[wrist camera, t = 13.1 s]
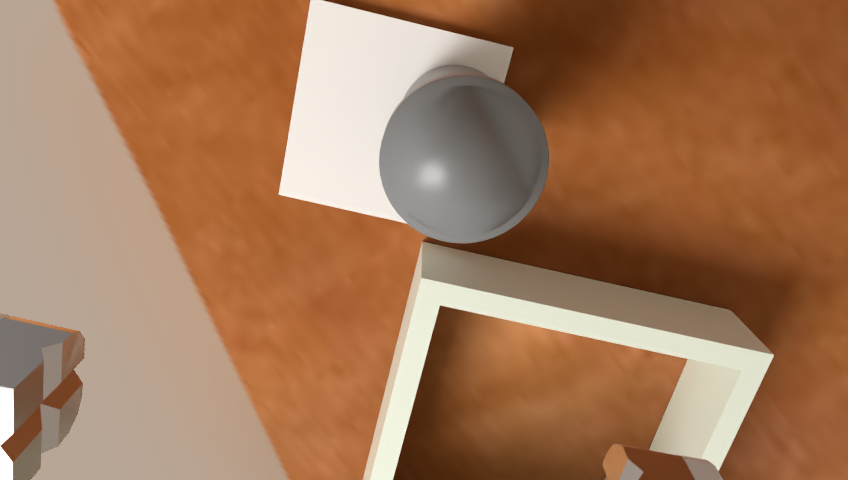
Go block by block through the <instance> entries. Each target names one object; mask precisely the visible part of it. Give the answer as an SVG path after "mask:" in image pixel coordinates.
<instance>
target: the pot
mask: <svg viewBox="0 0 848 480" xmlns="http://www.w3.org/2000/svg"><path fill="white" fill-rule="evenodd" d="M548 167H549V150H548V143H547V139H546V135H545V132H544V129H543V127H542V125H541V122H540V120H539V119H538V117H537V115H536V114H535V112H534V111H533V110H532V108H531V107H530V106H529V105H528V103H527V102H526V101H525V100H524V99H523V98H522V97H521V96H519V95H518V94H517V93H516V92H515V91H514V90H513V89H511V88H510V87H509V86H507V85H506V84H504V83H502V82H500V81H498V80H496V79H494V78H491V77H489V76H487V75H486V74H484V73H483V72H481V71H479V70H477V69H474V68H471V67H468V66H463V65H446V66H441V67H438V68H435V69H432V70H430V71H429V72H427V73H425V74H424V75H422V76H421V77H419V78H418V79H417V80H416V81H415V82H414V83H413V84H412V85H411V87H410V88H409V89H408V91H407V92H406V94H405V96H404V98H403V100H402V101H401V102H400V103H399V104H398V105H397V107H396V108H395V110H394V112H393V113H392V115H391V117H390V119H389V121H388V123H387V126H386V129H385V132H384V135H383V138H382V142H381V147H380V153H379V170H380V177H381V181H382V186H383V188H384V191H385V194H386V196H387V198H388V200H389V202H390V203H391V205H392V207H393V208H394V209H395V211H396V212H397V213H398V214H399V216H400V217H401V218H402V219H403V220H404V221H405V222H406V223H408V224H409V225H410V226H411V227H413V228H414V229H416V230H417V231H419V232H420V233H422V234H424V235H427V236H429V237H431V238H434V239H437V240H440V241H445V242H450V243H474V242H480V241H484V240H488V239H491V238H494V237H496V236H498V235H500V234H503V233H504V232H506V231H508V230H509V229H511V228H513V227H514V226H515V225H516V224H518V223H519V222H520V221H521V220H522V219H523V218H524V217H525V216H526V215H527V214H528V213H529V212H530V210H531V209H532V208H533V207H534V205H535V204H536V202H537V200H538V198H539V197H540V195H541V193H542V190H543V188H544V185H545V182H546V178H547V174H548Z"/></svg>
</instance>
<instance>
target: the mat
mask: <svg viewBox="0 0 848 480" xmlns="http://www.w3.org/2000/svg"><path fill="white" fill-rule="evenodd" d="M512 52H513V47H510V46H506V45H502V44H498V43H494V42H490V41H486V40H482V39H478V38H474V37H470V36H466V35H462V34H458V33H454V32H450V31H445V30H441V29H437V28H433V27H429V26H425V25H421V24H417V23H413V22H409V21H405V20H401V19H397V18H393V17H389V16H385V15H381V14H377V13H373V12H369V11H365V10H361V9H356V8H352V7H348V6H344V5H340V4H336V3H332V2H328V1H324V0H311V1H310V7H309V13H308V20H307V26H306V32H305V38H304V44H303V50H302V56H301V62H300V68H299V74H298V81H297V87H296V93H295V99H294V105H293V111H292V117H291V123H290V129H289V135H288V141H287V148H286V154H285V160H284V166H283V172H282V178H281V184H280V190H279V195H283V196H287V197H292V198H296V199H301V200H305V201H309V202H314V203H318V204H323V205H327V206H332V207H336V208H341V209H345V210H350V211H354V212H359V213H363V214H367V215H372V216H376V217H381V218H385V219H390V220H394V221H399V222H403V223H406V222H405V221H404V220H403V219H402V218H401V217H400V216H399V214H398V213H397V212H396V211H395V209H394V208H393V207H392V205H391V203H390V202H389V200H388V198H387V196H386V194H385V191H384V188H383V186H382V181H381V177H380V170H379V153H380V147H381V142H382V138H383V135H384V132H385V129H386V126H387V123H388V121H389V119H390V117H391V115H392V113H393V112H394V110H395V108H396V107H397V105H398V104H399V103H400V102H401V101H402V100H403V98H404V96H405V94H406V92H407V91H408V89H409V88H410V87H411V85H412V84H413V83H414V82H415V81H416V80H417V79H418V78H419V77H421V76H422V75H424V74H425V73H427V72H429V71H430V70H432V69H435V68H438V67H441V66H446V65H463V66H468V67H471V68H474V69H477V70H479V71H481V72H483V73H484V74H486V75H487V76H489V77H491V78H494V79H496V80H498V81H500V82H502V83H504V82H505V78H506V74H507V71H508V67H509V63H510V60H511V56H512Z"/></svg>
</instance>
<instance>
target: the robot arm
mask: <svg viewBox="0 0 848 480" xmlns="http://www.w3.org/2000/svg"><path fill="white" fill-rule="evenodd" d="M84 343H85V338H84V337H83V335H82V334H81V333H80V331H75V330H71V329H67V328H62V327H58V326H53V325H49V324H45V323H41V322H36V321H32V320H27V319H23V318H19V317H14V316H9V315H6V314H0V480H30V479H32V477H33V476H34V475H35V474H36V473H37V471H38V470H39V469H40V465H41V453H44V452H46V451H48V450H51V449H53V448H55V447H58V445H59V444H60V443H61V442H62V441H63V439H64V438H65V437H66V435H67V434H68V433H69V431H70V429H71V427H72V425H73V423H74V421H75V418H76V416H77V414H78V411H79V407H80V403H81V398H82V386H83V383H82V382H81V380H80V379H79V377H78V375H77V374H76V373H75V371H74V368H75V367H76V366H77V365H78V364H79V363H80V362H81V361H82V360H83V359H84V345H85V344H84ZM602 465H603V468H604V470H605V473H606V476H607V477H606V478H605V479H603V480H723V479H722V477H721V475H720V474H719V472H718V470H717V469H716V467H715V465H713V464H712V463H711V462H709V461H708V460H705V459H699V458H693V457H687V456H682V455H672V454H667V453H662V452H657V451H651V450H646V449H641V448H636V447H630V446H625V445H620V444H615V443H614V444H613V446H612V447H611V448H610V449H609V450H608V452H607V454H606V456H605V459H604V461H603V463H602Z"/></svg>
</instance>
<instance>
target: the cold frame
mask: <svg viewBox="0 0 848 480" xmlns="http://www.w3.org/2000/svg"><path fill="white" fill-rule="evenodd" d="M440 305H441V306H445V307H450V308H455V309H459V310H464V311H468V312H473V313H478V314H482V315H487V316H492V317H496V318H501V319H506V320H510V321H515V322H519V323H524V324H529V325H533V326H538V327H543V328H547V329H552V330H557V331H561V332H566V333H571V334H575V335H580V336H584V337H589V338H594V339H598V340H603V341H608V342H612V343H617V344H622V345H626V346H631V347H635V348H640V349H645V350H649V351H654V352H659V353H663V354H668V355H673V356H677V357H682V358H687V359H688V360H687V362H686V365H685V367H684V369H683V372H682V374H681V376H680V379H679V381H678V383H677V386H676V388H675V390H674V393H673V395H672V397H671V400H670V402H669V404H668V407H667V409H666V411H665V414H664V416H663V418H662V421H661V423H660V425H659V428H658V430H657V432H656V435H655V437H654V439H653V442H652V444H651V446H650V449H649V450H651V451H657V452H662V453H667V454H672V455H682V456H687V457H693V458H699V459H705V460H708V461H709V462H711V463H712V464H713V465H715V467H716V469H717V470H718V471H719V469H720V467H721V465H722V463H723V461H724V459H725V457H726V455H727V452H728V450H729V448H730V446H731V444H732V442H733V440H734V438H735V436H736V434H737V432H738V429H739V427H740V425H741V423H742V421H743V419H744V417H745V415H746V413H747V411H748V409H749V407H750V404H751V402H752V400H753V398H754V396H755V394H756V392H757V390H758V388H759V386H760V384H761V381H762V379H763V377H764V375H765V373H766V371H767V369H768V367H769V365H770V363H771V361H772V359H773V356H774V354H773V353H772V352H771V351H770V350H769V349H768V348H767V347H766V346H765V345H764V344H763V343H762V342H761V341H760V340H759V339H758V338H757V337H756V336H755V335H754V334H753V333H752V332H751V331H750V330H749V328H748V327H747V326H746V325H745V324H744V323H743V322H742V321H741V320H740V319H739V318H738V317H737V316H736V315H735V314H734V313H733V312H732V311H731V310H728V309H723V308H719V307H715V306H710V305H706V304H701V303H697V302H692V301H688V300H683V299H679V298H674V297H670V296H665V295H661V294H656V293H652V292H647V291H643V290H638V289H634V288H629V287H625V286H620V285H616V284H611V283H607V282H602V281H598V280H593V279H589V278H584V277H580V276H575V275H571V274H566V273H562V272H557V271H553V270H548V269H544V268H539V267H535V266H530V265H526V264H521V263H517V262H512V261H508V260H503V259H499V258H494V257H490V256H485V255H481V254H476V253H472V252H467V251H463V250H458V249H454V248H449V247H445V246H440V245H436V244H431V243H427V242H422V245H421V249H420V253H419V257H418V261H417V265H416V269H415V273H414V277H413V281H412V285H411V289H410V293H409V297H408V301H407V305H406V309H405V313H404V317H403V321H402V325H401V329H400V333H399V337H398V341H397V345H396V349H395V353H394V357H393V361H392V365H391V369H390V373H389V377H388V381H387V385H386V389H385V393H384V397H383V401H382V405H381V409H380V413H379V417H378V421H377V425H376V429H375V433H374V437H373V441H372V445H371V449H370V453H369V457H368V461H367V465H366V469H365V473H364V477H363V480H393V478H394V474H395V470H396V466H397V463H398V459H399V455H400V452H401V448H402V444H403V440H404V437H405V433H406V429H407V426H408V422H409V418H410V414H411V411H412V407H413V403H414V400H415V396H416V392H417V388H418V385H419V381H420V377H421V374H422V370H423V366H424V362H425V359H426V355H427V351H428V348H429V344H430V340H431V336H432V333H433V329H434V325H435V322H436V318H437V314H438V310H439V307H440Z"/></svg>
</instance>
